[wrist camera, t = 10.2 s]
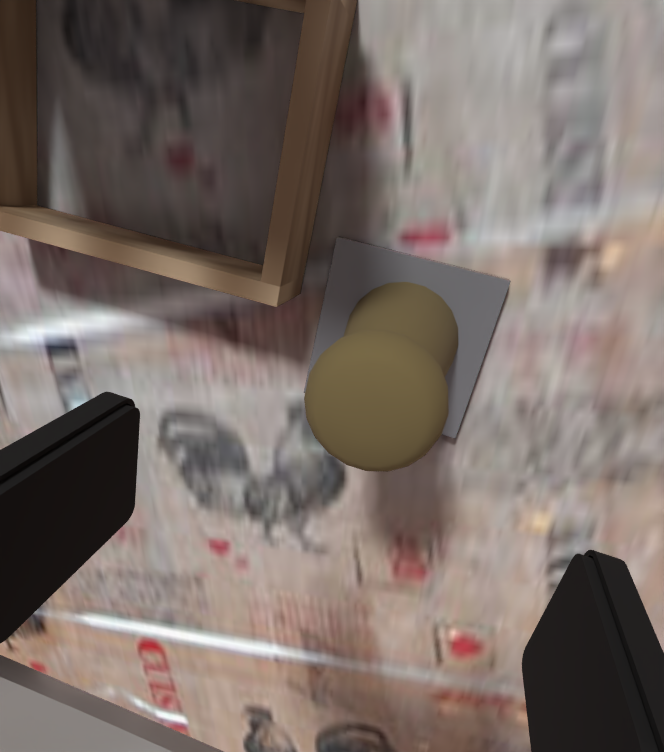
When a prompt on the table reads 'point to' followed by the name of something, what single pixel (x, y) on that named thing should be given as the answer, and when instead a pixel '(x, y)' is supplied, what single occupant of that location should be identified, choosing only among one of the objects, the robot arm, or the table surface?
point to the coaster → (454, 284)
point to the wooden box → (171, 259)
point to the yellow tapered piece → (385, 379)
